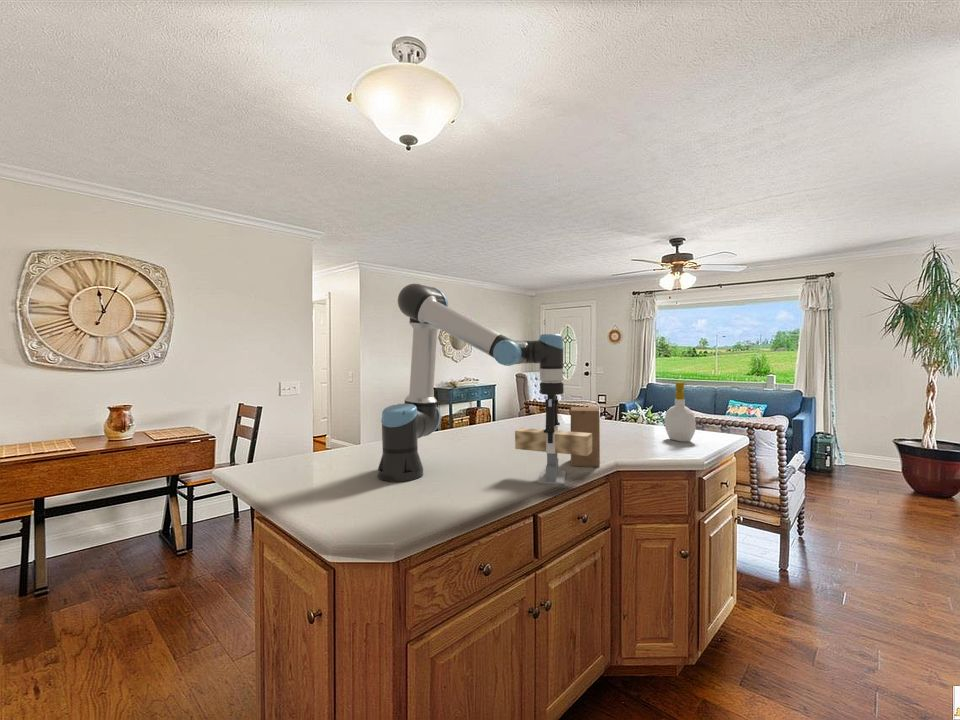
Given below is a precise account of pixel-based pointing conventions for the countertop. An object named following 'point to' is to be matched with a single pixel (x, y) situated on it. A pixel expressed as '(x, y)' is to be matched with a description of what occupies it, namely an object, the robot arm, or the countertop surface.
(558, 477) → the bracket
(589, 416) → the wooden block
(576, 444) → the beam
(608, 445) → the countertop surface
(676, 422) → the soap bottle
